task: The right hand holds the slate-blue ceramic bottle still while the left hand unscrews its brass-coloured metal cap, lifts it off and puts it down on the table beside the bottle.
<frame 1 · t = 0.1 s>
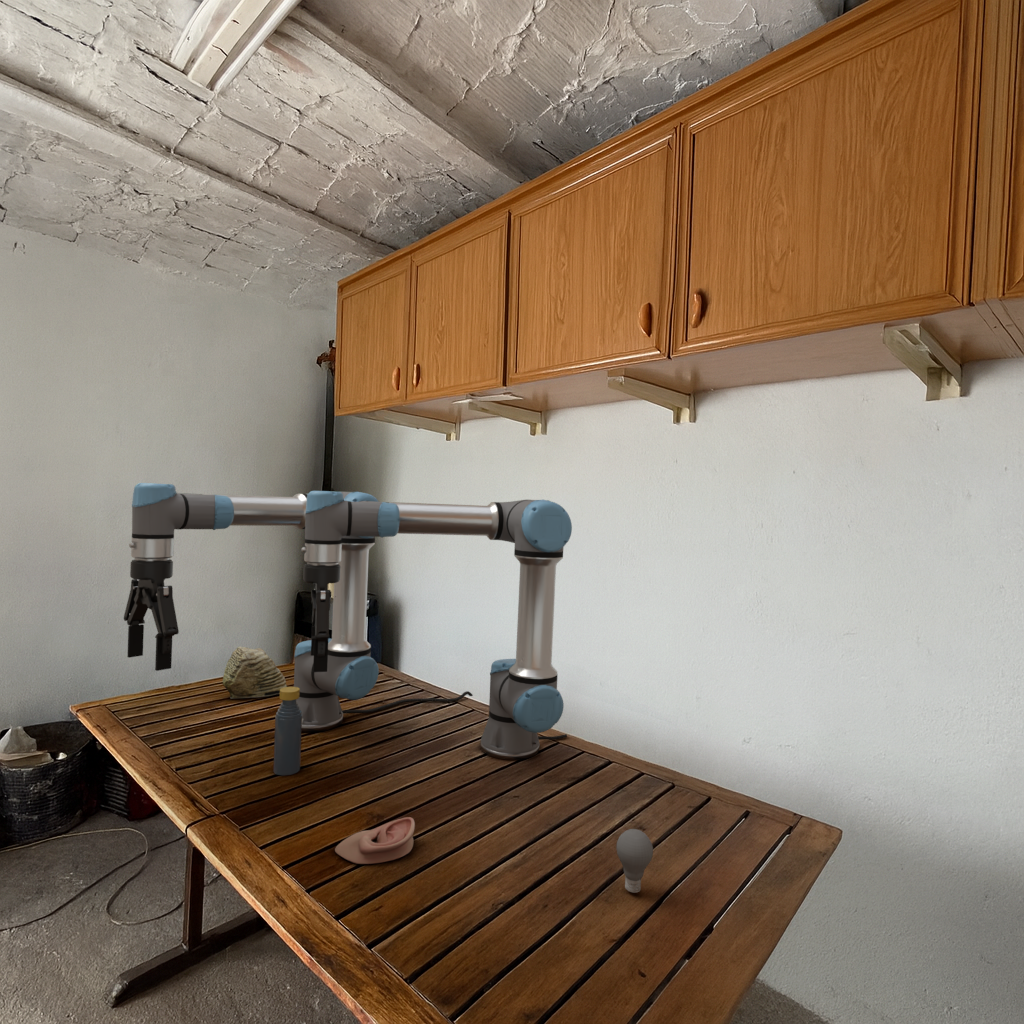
left hand: (148, 662, 129), 28 cm above the table, tool pointing down, fingers open, 13 cm apart
right hand: (318, 663, 135), 28 cm above the table, tool pointing down, fingers open, 13 cm apart
cap: (289, 690, 146), point 18 cm above the table, screwed on, not yet turned
light bulb: (632, 891, 106), on the table
bottle: (286, 769, 146), on the table
anatomical model: (375, 848, 115), on the table
fossil: (254, 694, 198), on the table
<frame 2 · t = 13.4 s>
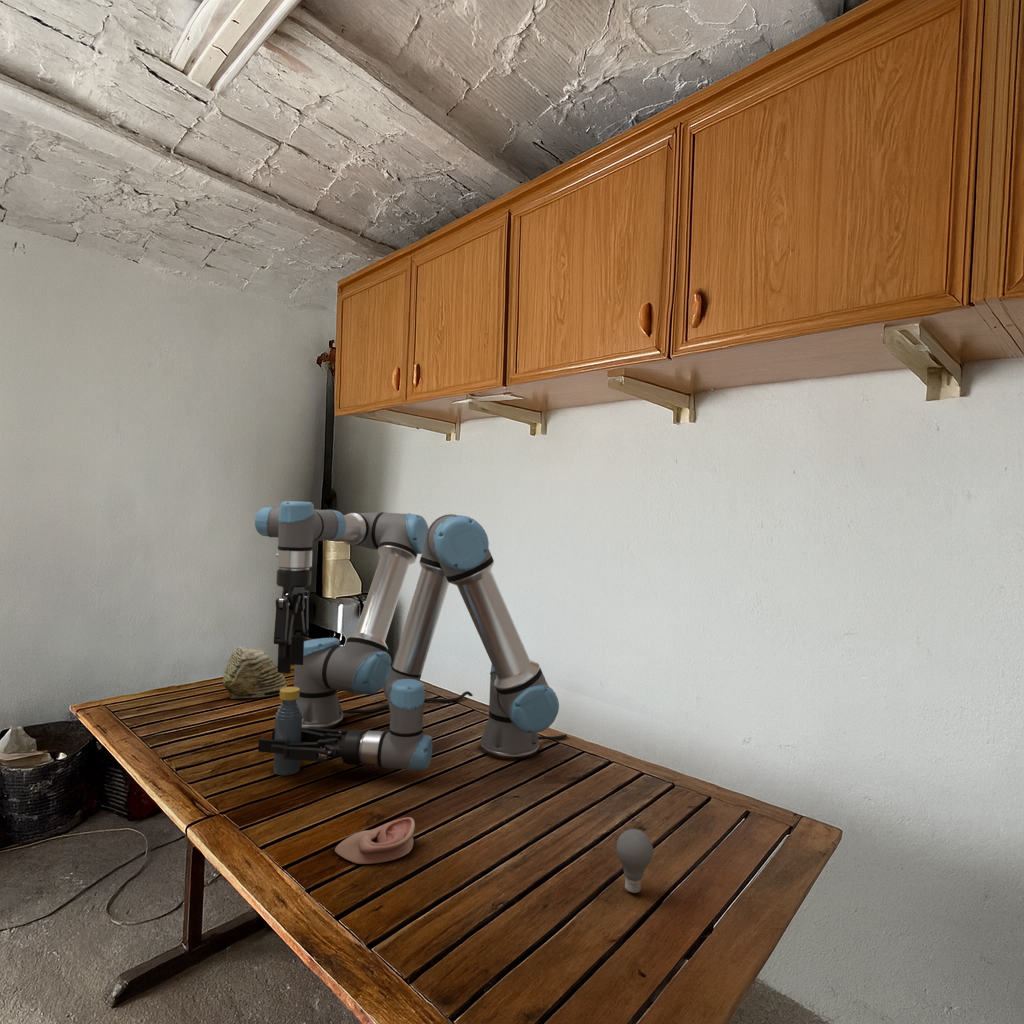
left hand: (290, 668, 145), 24 cm above the table, tool pointing down, fingers open, 7 cm apart
right hand: (266, 739, 146), 7 cm above the table, tool horizontal, fingers closed on bottle, 6 cm apart
bottle: (286, 769, 146), on the table, touching right hand
everything else where it was.
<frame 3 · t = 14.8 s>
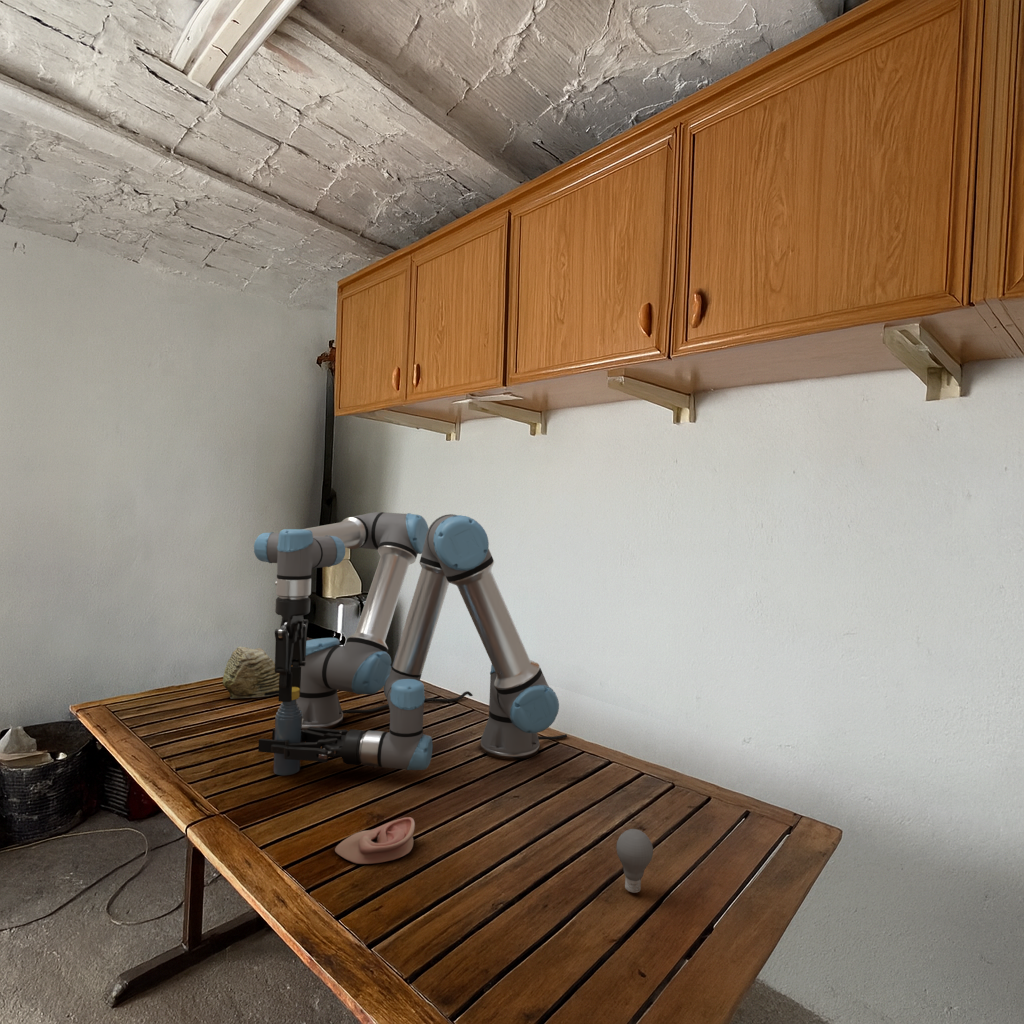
left hand: (289, 697, 146), 17 cm above the table, tool pointing down, fingers closed on cap, 4 cm apart
right hand: (266, 739, 146), 7 cm above the table, tool horizontal, fingers closed on bottle, 6 cm apart
cap: (289, 690, 146), point 18 cm above the table, screwed on, not yet turned, touching left hand
bottle: (286, 769, 146), on the table, touching right hand
everything else where it was.
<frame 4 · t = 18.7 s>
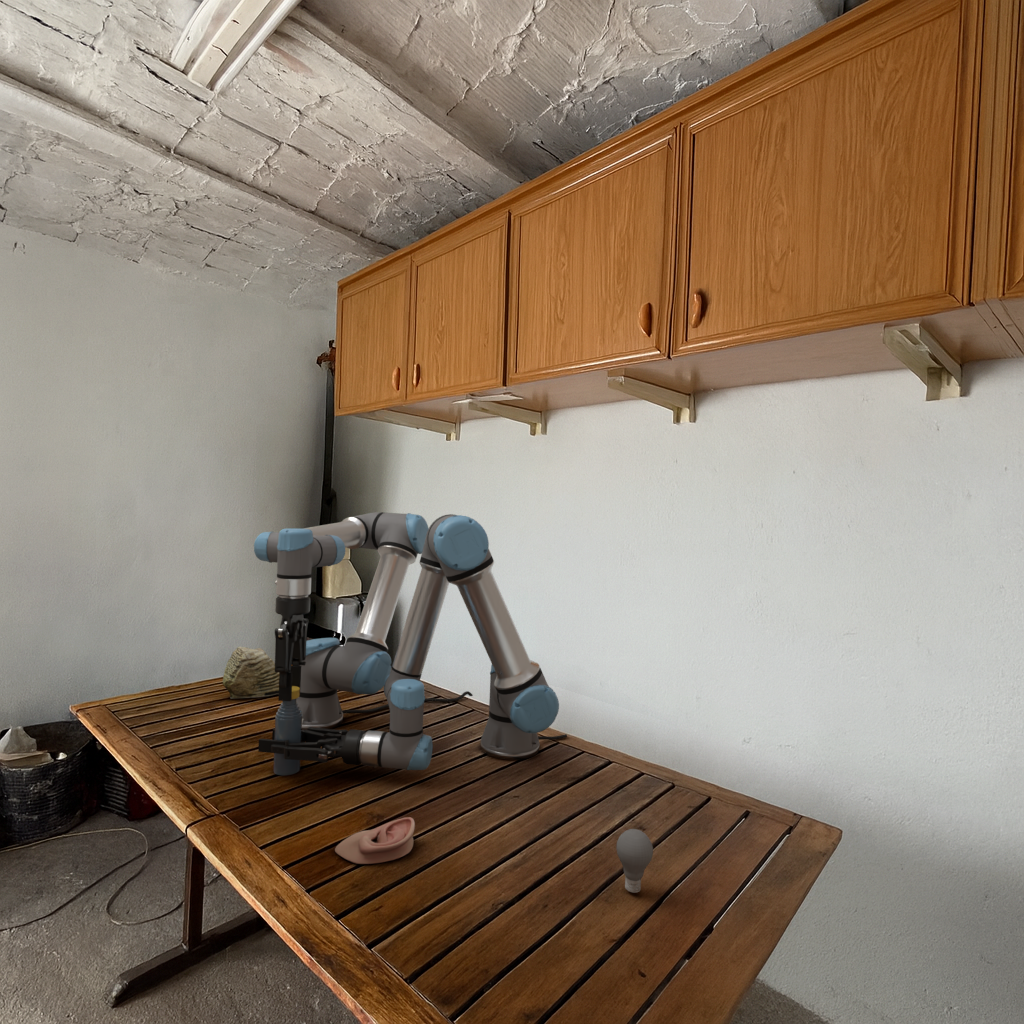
left hand: (289, 696, 146), 17 cm above the table, tool pointing down, fingers closed on cap, 4 cm apart
right hand: (266, 739, 146), 7 cm above the table, tool horizontal, fingers closed on bottle, 6 cm apart
cap: (289, 690, 146), point 19 cm above the table, turned 142° so far, risen 0.2 cm, still on its thread, touching left hand
bottle: (286, 769, 146), on the table, touching right hand
everything else where it was.
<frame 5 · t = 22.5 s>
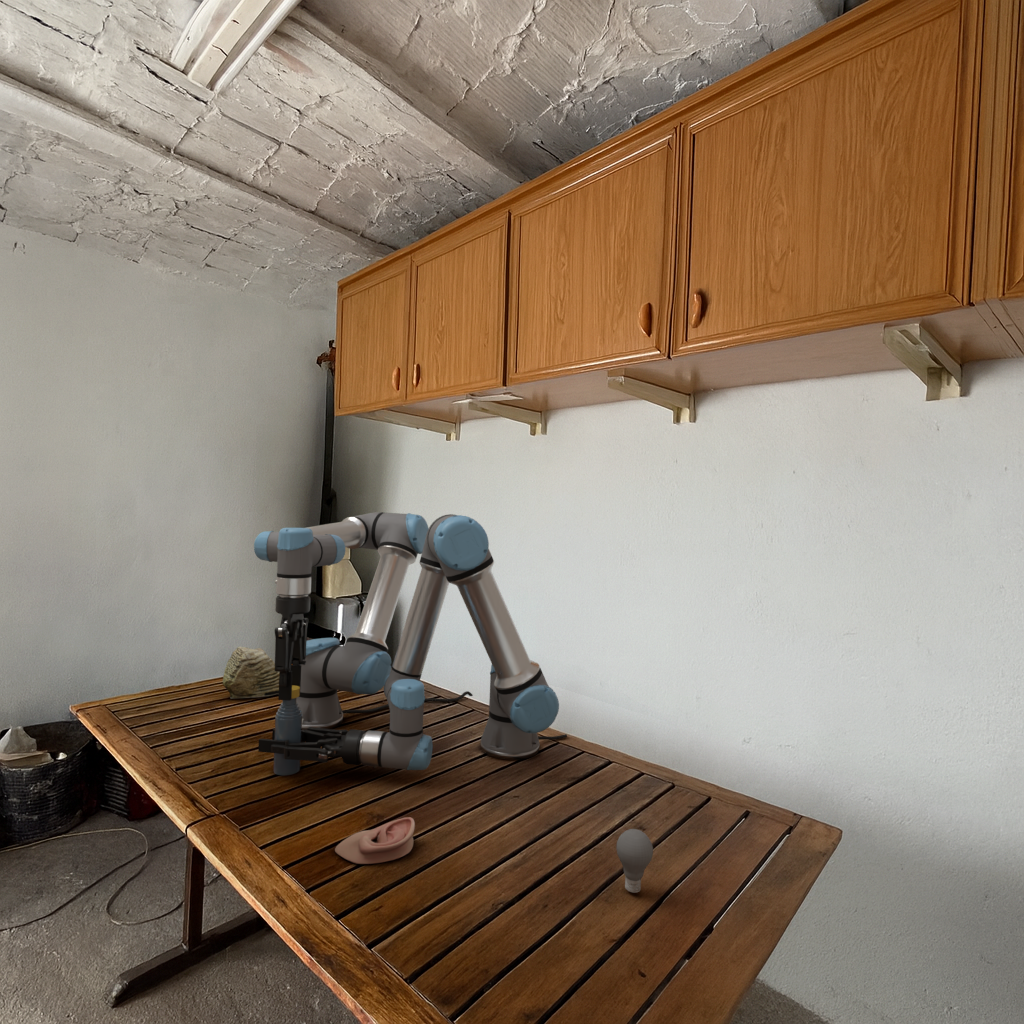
left hand: (289, 696, 146), 17 cm above the table, tool pointing down, fingers closed on cap, 4 cm apart
right hand: (266, 739, 146), 7 cm above the table, tool horizontal, fingers closed on bottle, 6 cm apart
cap: (289, 689, 146), point 19 cm above the table, turned 283° so far, risen 0.3 cm, still on its thread, touching left hand
bottle: (286, 769, 146), on the table, touching right hand
everything else where it was.
when the left hand's fingers open (1 cm above the table, at t = 29.4 s): cap drops 1 cm, point 2 cm above the table.
when the right hand's fingers open (7 cm above the table, at t = 30.6 s): bottle stays where it is, on the table.
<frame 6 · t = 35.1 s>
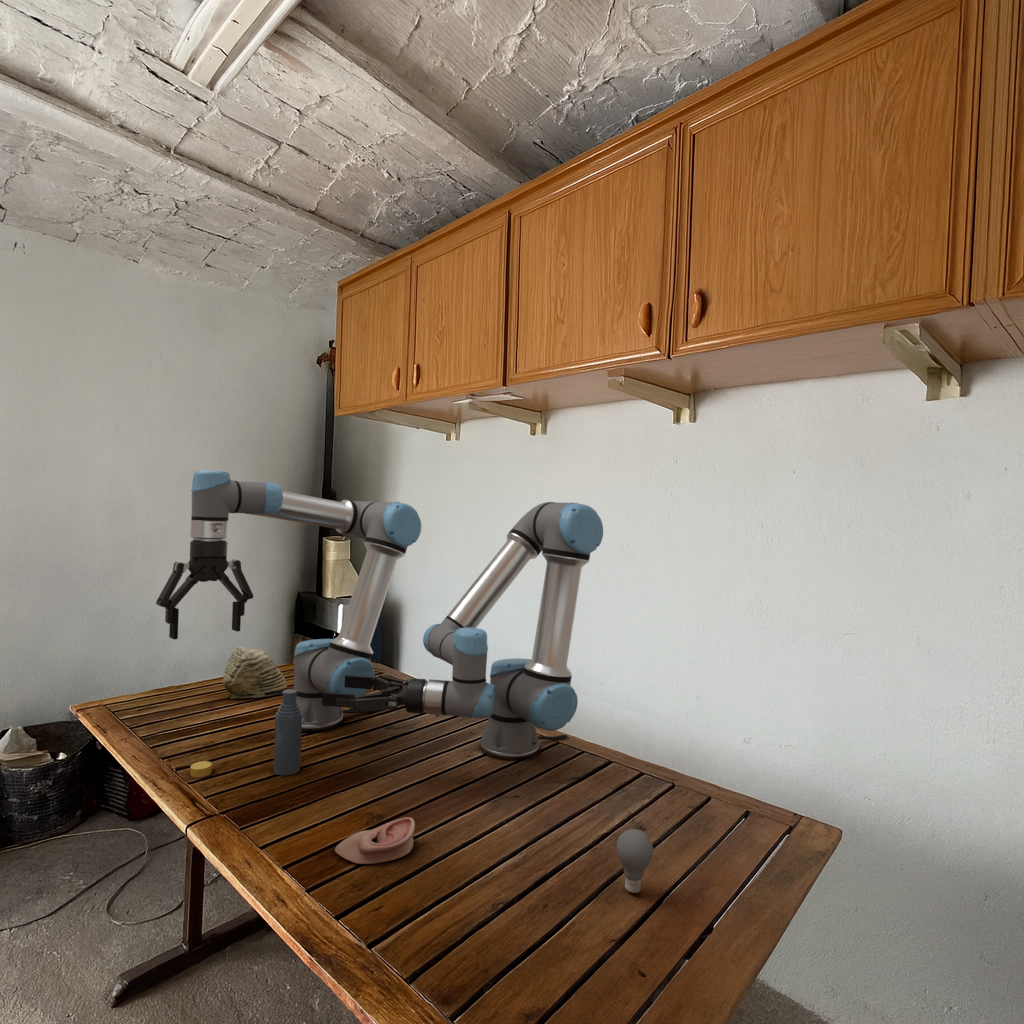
left hand: (205, 634, 142), 31 cm above the table, tool pointing down, fingers open, 13 cm apart
right hand: (334, 689, 145), 19 cm above the table, tool horizontal, fingers open, 13 cm apart
cap: (201, 766, 142), point 2 cm above the table, off its thread
bottle: (286, 769, 146), on the table
everything else where it was.
at the end: cap came off its thread; cap point 1.6 cm above the table; the left hand is holding nothing; the right hand is holding nothing; bottle tilted 0°; bottle moved 0.0 cm from its start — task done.
